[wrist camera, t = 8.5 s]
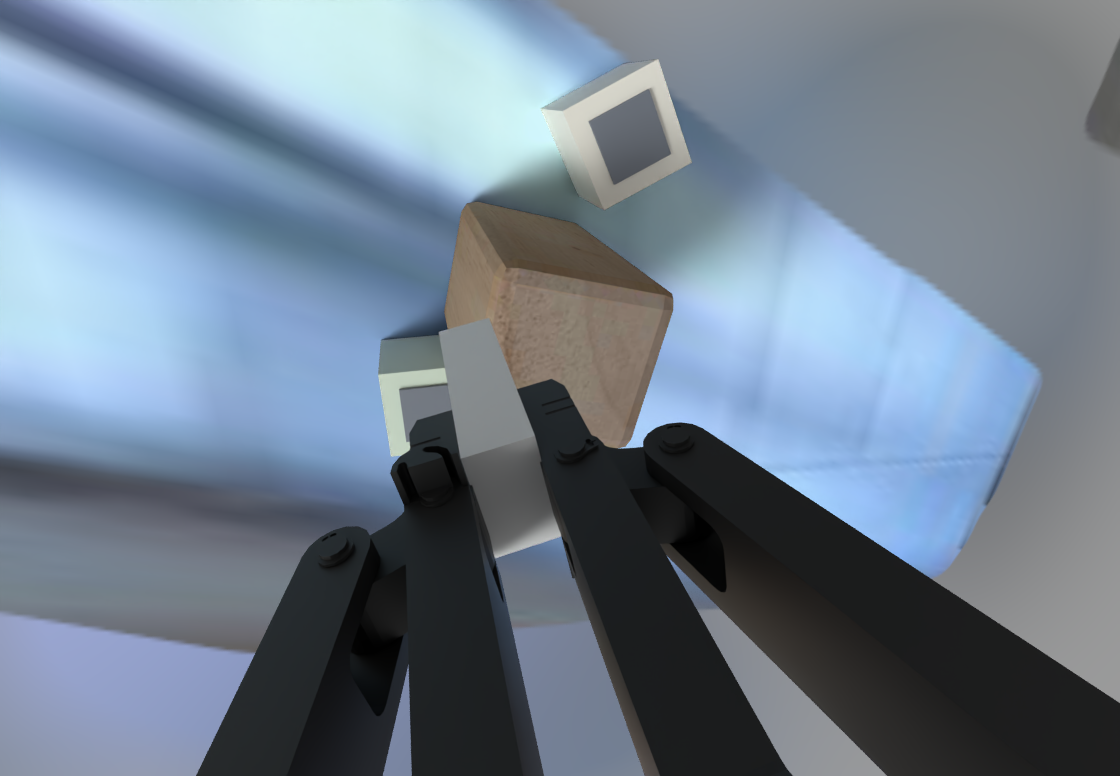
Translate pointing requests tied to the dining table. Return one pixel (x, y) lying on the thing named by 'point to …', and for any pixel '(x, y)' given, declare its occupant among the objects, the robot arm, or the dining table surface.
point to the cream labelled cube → (618, 133)
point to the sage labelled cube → (411, 385)
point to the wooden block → (561, 311)
